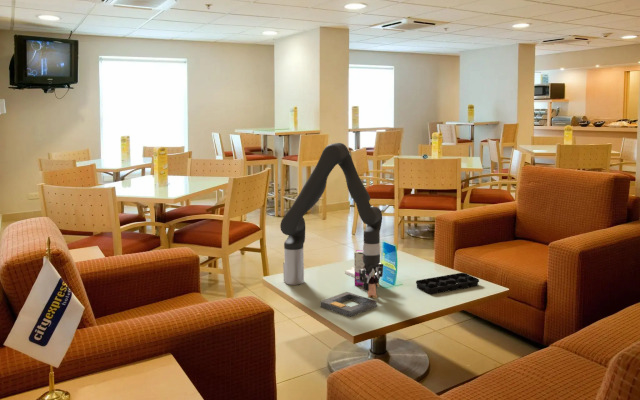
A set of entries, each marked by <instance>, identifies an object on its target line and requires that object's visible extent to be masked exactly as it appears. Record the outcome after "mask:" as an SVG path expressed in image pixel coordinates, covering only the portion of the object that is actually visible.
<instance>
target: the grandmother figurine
mask: <svg viewBox="0 0 640 400" xmlns="http://www.w3.org/2000/svg"><path fill="white" fill-rule="evenodd" d="M374 275H375V270H374V271H373V273H372V276H371V278H370V279H369V282H368V283H369V291H367V298H371V299H372V298H373V299H376V298H378V295H377V288H379V287H380V282H379V283H378V281H377V279H376V278H374ZM366 280H367V278H366ZM375 283H376V284H377V287H376V285H375ZM363 284H364V283H363Z"/></svg>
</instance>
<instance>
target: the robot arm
mask: <svg viewBox="0 0 640 400" xmlns="http://www.w3.org/2000/svg"><path fill="white" fill-rule="evenodd" d="M337 165H338V166H339V168H340V169H341V171H342V172H343V174H344V177H345V182H346V188H347V190H348V193H349V194H350V196H351V198H352V199H353V202H354V203H355V206H356V209H357V213H358V215H359V218H360V220H361V221H362V222H363V223H364V224H365V225H366V228H365V229H364V230H363V245H362V250H363V263H364V264H365V266H364V268H363V269H359V275H360V282H363V283H364V286H363V291H365V292H368V291H369V283H368V282H369V279H370V278H371V276H372V273H373V271H374V270H375V275H374V278H376V279H377V281H378V283H379V284H380V279H381V278H383V275H384V263H381V245H380V244H381V242H380V241H381V240H380V237H381V236H380V233H381V229H382V228H381V227H382V222H383V212H382V211H381V209H380V208H379V207H378V206H372V205H371V203H370V201H371V196H370V194H369V192H368V190H367V189H366V187H365V185H364V184H363V182H362V181H363V180H361V178H360V176H359V173H358V171H357V168H356V166H355V164H354V162H353V158H352V156H351V153H350V151H349V149H348V147H347V145H345V144H344V143H342V142H336V143H335V142H334V143H330V144H328V145H326V147H324V149H323V150H322V152H321V154H320V157H319V159H318V162H317V163H316V166H315V167H314V169H313V170H312V172H311V174H310V175H309V177H308V179H307V180H306V182H305V183H304V185H303V187H302V188H301V190H300V192H299V194H298V196H297V197H296V198H295V201H294V203H292V205H291V207H290V208H289V209H288V211H287V213H285V215H284V216H283V217H282V219H281V221H280V225H279V227H280V231H281V233H283V234H284V235H285V236H287V239H286V240H285V241H284V242H283V243H284V244H283V248H284V251H283V252H284V253H283V254H284V262H283V265H282V266H283V267H282V268H283V272H282V273H283V282H284V283H285V284H286V285H292V286H294V285H295V286H296V285H302V284H303V283H304V282H305V263H304V261H305V259H304V243H305V242H306V241H305V240H306V221H305V217H304V216H305V215H306V213H308V212H309V211H310V210H311V209H312V208H313V207H314V206H315V205H316V204H317V203H318V202H319V201H320V199H321V197H322V195H323V194H324V192H325V190H326V187H327V182H328V178H329V176H330V174H331V172H332V171H333V169H335V167H336V166H337ZM379 272H380V274H379ZM366 274H367V275H369V276H367V275H366ZM362 277H363V279H362ZM366 278H367V280H366ZM375 285H376V288H378V287H377V284H376V283H375Z"/></svg>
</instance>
